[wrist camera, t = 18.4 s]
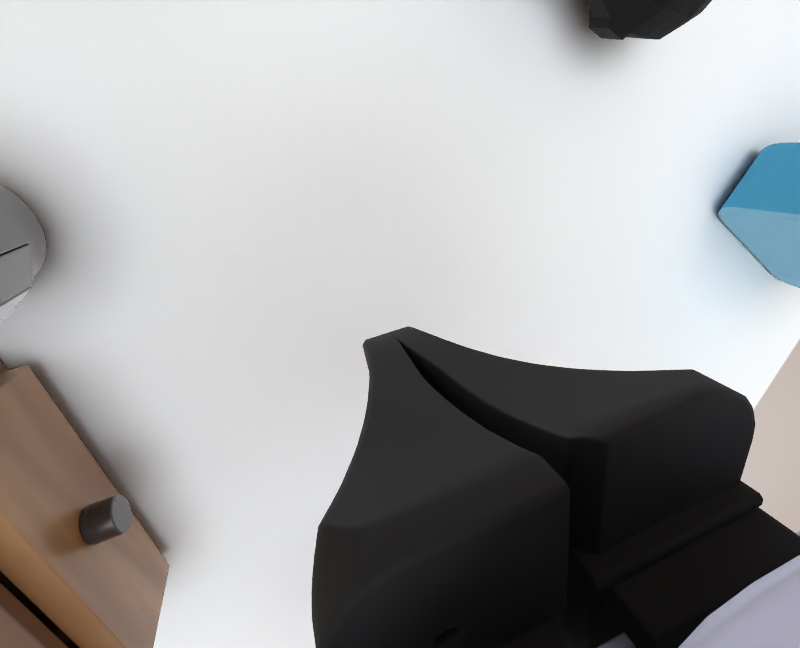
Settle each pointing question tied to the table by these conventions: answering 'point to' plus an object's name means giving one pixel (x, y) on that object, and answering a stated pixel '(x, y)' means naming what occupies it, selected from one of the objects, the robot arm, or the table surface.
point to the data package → (769, 210)
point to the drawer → (70, 530)
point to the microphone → (641, 17)
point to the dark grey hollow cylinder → (18, 250)
